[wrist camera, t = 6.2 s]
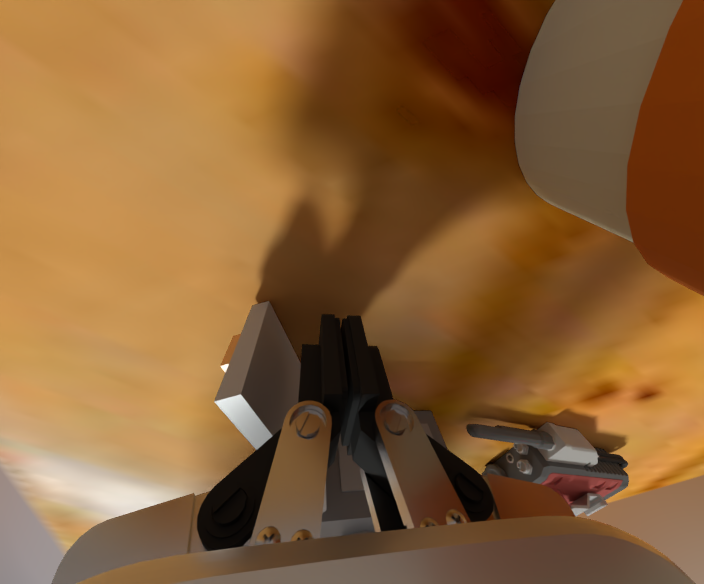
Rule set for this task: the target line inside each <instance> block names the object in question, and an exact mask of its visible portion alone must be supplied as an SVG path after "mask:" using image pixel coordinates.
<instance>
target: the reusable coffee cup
mask: <svg viewBox="0 0 704 584" xmlns="http://www.w3.org/2000/svg"><path fill="white" fill-rule="evenodd" d="M515 146H516V152H517V157H518V162H519V166H520V168H521V171H522V173H523V175H524V177H525V180H526V182H527V183H528V185H529V186H530V187H531V188H532V189H533V191H534V192H535V193H536V194H537V196H539V197H541V198H542V199H544V200H545V201H547V202H548V203H550V204H551V205H553V206H556V207H558V208H560V209H562V210H564V211H566V212H568V213H571V214H573V215H575V216H577V217H579V218H581V219H584V220H586V221H588V222H590V223H592V224H594V225H597V226H599V227H601V228H603V229H605V230H607V231H610V232H612V233H614V234H616V235H618V236H620V237H623V238H625V239H627V240H629V241H631V242H633V243H634V244H635V245H636V247H637V248H638V250H639V251H640V253H641V254H642V256H643V257H644V259H645V261H646V262H647V264H649V265H650V266H652V267H653V268H655V269H656V270H658V271H659V272H660V273H662V274H663V275H665V276H666V277H668V278H670V279H672V280H674V281H676V282H678V283H680V284H681V285H683V286H685V287H687V288H689V289H691V290H693V291H695V292H697V293H699V294H701V295H703V296H704V0H555V2H554V3H553V5H552V7H551V8H550V10H549V12H548V13H547V15H546V17H545V20H544V22H543V24H542V26H541V29H540V31H539V33H538V35H537V37H536V40H535V42H534V44H533V46H532V49H531V51H530V54H529V57H528V61H527V64H526V67H525V70H524V74H523V77H522V80H521V83H520V88H519V94H518V100H517V106H516V112H515Z"/></svg>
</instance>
